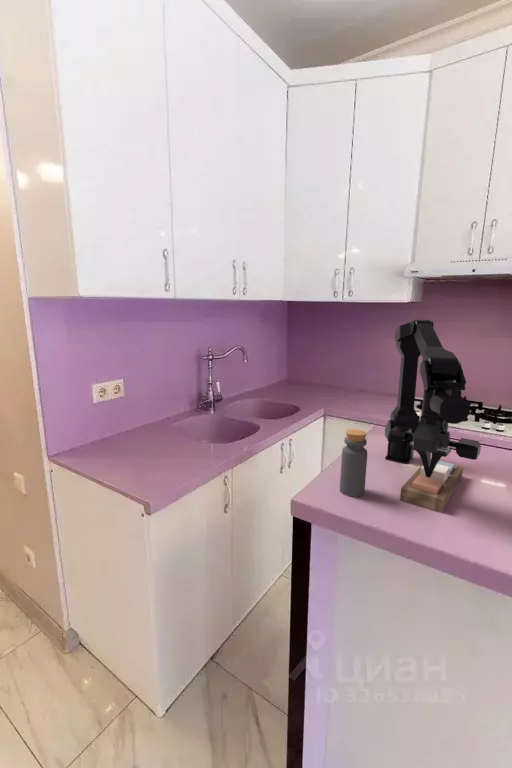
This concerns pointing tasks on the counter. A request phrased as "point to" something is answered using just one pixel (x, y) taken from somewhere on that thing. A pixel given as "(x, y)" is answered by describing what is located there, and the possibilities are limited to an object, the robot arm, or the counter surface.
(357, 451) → the bottle
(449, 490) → the wooden compartment tray
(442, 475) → the button cream
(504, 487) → the counter surface
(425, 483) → the button terracotta
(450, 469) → the button slate
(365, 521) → the counter surface
